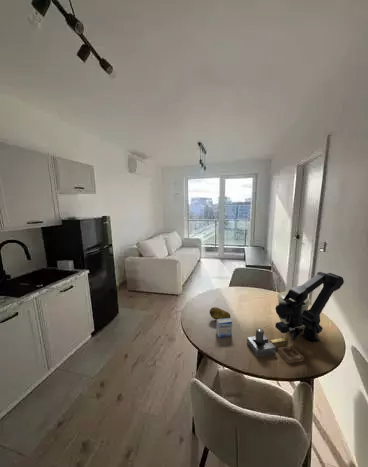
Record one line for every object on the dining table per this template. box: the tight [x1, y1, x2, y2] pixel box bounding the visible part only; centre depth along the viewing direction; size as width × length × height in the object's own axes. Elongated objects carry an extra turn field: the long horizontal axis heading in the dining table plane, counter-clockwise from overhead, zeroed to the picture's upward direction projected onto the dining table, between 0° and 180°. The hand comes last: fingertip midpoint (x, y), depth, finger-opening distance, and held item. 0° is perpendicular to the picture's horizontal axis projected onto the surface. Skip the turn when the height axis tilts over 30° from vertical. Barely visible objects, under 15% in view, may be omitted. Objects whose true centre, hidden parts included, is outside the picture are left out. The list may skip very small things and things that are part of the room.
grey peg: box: [255, 327, 265, 346], centre depth 108 cm, size 4×4×11 cm
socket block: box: [246, 334, 277, 358], centre depth 109 cm, size 10×10×4 cm
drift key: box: [269, 335, 290, 348], centre depth 111 cm, size 9×3×4 cm, turn 102°
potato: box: [209, 306, 231, 321], centre depth 135 cm, size 8×13×8 cm, turn 71°
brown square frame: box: [277, 345, 304, 364], centre depth 104 cm, size 8×8×2 cm
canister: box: [276, 290, 312, 324], centre depth 129 cm, size 18×18×21 cm
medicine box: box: [215, 317, 233, 338], centre depth 120 cm, size 8×4×9 cm, turn 101°
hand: (293, 339), depth 113 cm, fingers closed
